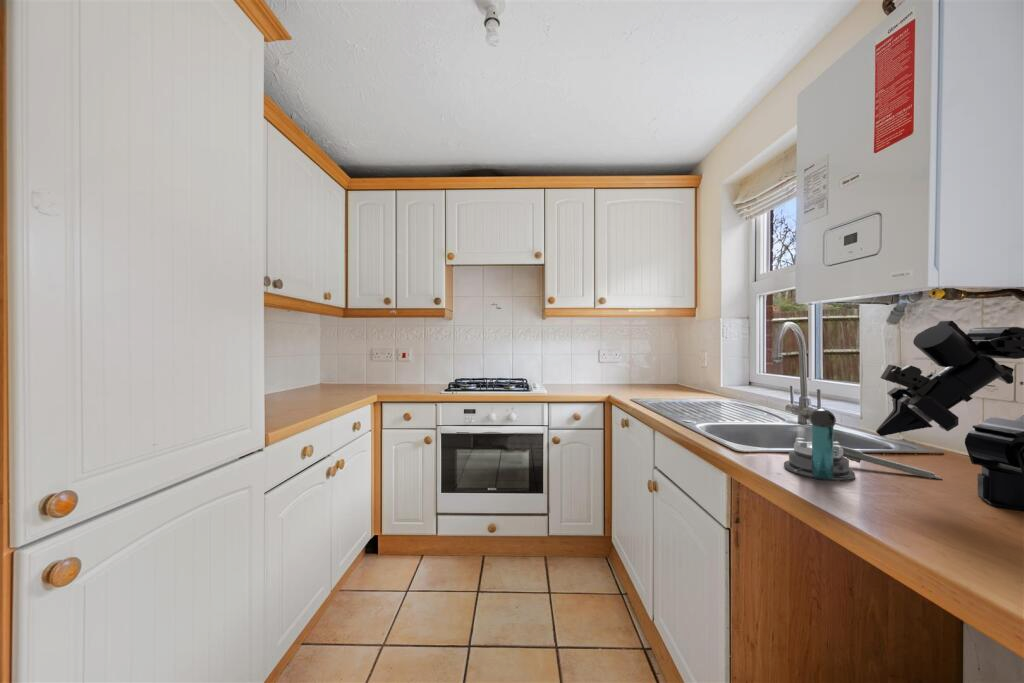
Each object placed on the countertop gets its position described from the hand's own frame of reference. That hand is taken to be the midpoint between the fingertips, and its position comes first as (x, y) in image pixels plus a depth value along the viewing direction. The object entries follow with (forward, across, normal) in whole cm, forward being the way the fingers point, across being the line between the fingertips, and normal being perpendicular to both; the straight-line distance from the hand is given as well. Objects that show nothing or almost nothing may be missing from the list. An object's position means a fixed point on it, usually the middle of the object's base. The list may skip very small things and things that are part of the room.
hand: (878, 433), depth 81 cm
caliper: (+6, -17, +11) cm, 21 cm away
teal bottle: (+13, -5, +1) cm, 14 cm away
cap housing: (+14, -9, +2) cm, 17 cm away
